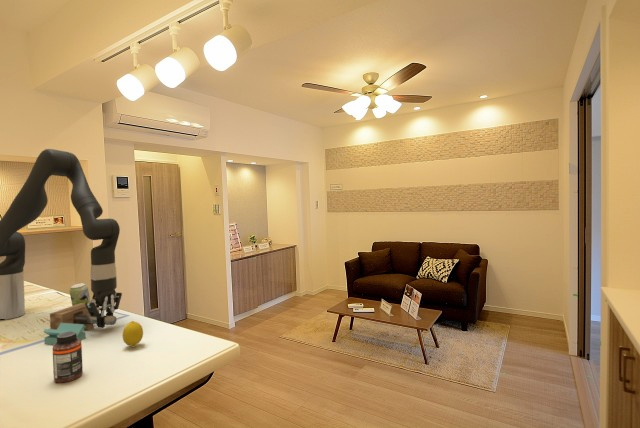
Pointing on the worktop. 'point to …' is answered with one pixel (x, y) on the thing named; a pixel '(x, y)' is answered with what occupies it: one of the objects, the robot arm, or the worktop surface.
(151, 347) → the worktop surface
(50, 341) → the v block
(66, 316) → the brown wooden block
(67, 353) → the supplement bottle
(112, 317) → the axle
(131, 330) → the lemon
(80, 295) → the beverage can
